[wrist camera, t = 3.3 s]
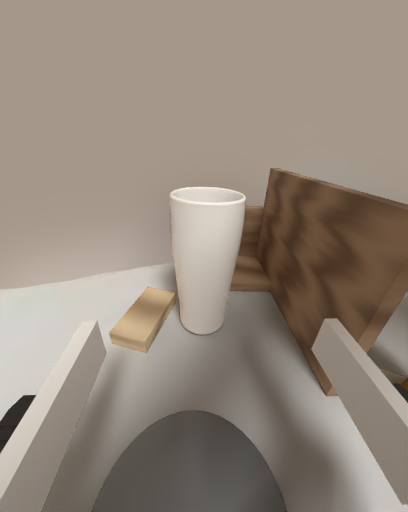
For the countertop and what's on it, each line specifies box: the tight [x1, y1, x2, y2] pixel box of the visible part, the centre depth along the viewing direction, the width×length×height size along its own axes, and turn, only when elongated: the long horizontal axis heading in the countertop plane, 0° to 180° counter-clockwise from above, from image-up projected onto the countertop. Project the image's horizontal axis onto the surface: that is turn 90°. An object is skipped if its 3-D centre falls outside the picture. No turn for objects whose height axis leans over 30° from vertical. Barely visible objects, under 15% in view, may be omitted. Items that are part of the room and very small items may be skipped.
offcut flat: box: [109, 287, 176, 353], centre depth 24 cm, size 8×4×2 cm, turn 165°
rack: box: [230, 168, 408, 396], centre depth 24 cm, size 24×15×16 cm, turn 3°
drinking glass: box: [170, 187, 246, 335], centre depth 21 cm, size 7×7×15 cm
